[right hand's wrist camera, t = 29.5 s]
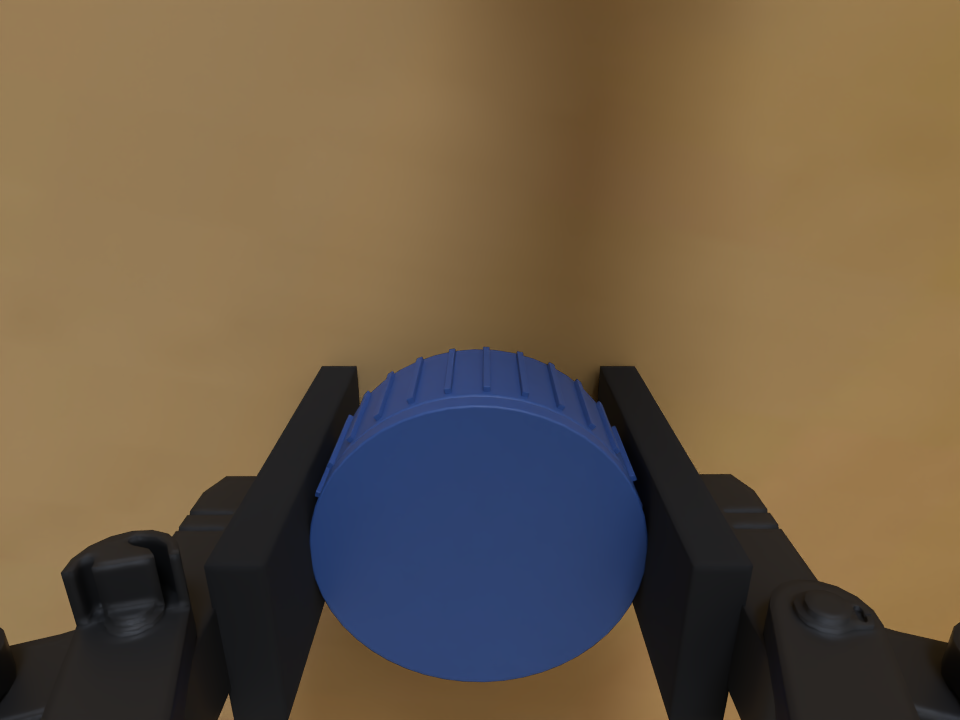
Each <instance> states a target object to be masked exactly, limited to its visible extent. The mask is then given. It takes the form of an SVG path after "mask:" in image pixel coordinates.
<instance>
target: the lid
mask: <svg viewBox="0 0 960 720" xmlns="http://www.w3.org/2000/svg"><path fill="white" fill-rule="evenodd" d="M635 480H637V478H636V476H635V473H634V471H633V468H632V466H631V463H630V461H629V458H628V456H627V454H626V451H625V449H624V446H623V444H622V441H621V439H620V436H619V434H618V431H617V429H616V427H615V426H613V427H611V426H610V423H609V421H608V418H607V416H606V413H605V410H604V408H603V405H602V404H601V402H600V401H598V402H595V401H594V400H593V399H592V398H591V397H590V396H589V394H588V393H587V392H586V391H585V390H584V389H583V387H582V384H581V382H580V381H579V380H578V379H577V380H576V381H575V382H574V381H573V380H572V379H570V378H569V377H568V376H566V375H565V374H563V373H561V372H560V371H558V370H556V369H555V366H554V364H552V363H550V362H549V363H548V365H547V364H544V363H542V362H540V361H537V360H535V359H533V358H529V357H526V356H523V352H519V351H517V354H515V353H510V352H503V351H497V350H490V349H489V347H483V350H476V349H474V350H462V351H455V349H449V352H448V353H444V354H439V355H435V356H432V357H429V358H426V359H423V357H420V358H417V360H416V362H415V363H413V364H411V365H409V366H407V367H405V368H403V369H401V370H399V371H398V372H396V373H394V372H393V371H392V372H390V373H389V374H388V376H387V378H386V380H385V381H383V382H382V383H381V384H380V385H379V386H378V387H377V388H376V389H375V390H373V391H372V392H371V393H370V392H369V391H367V392H366V393H365V394H364V397H363V399H362V402H361V404H360V406H359V408H358V409H357V411H356V413H355V414H354V416H352V415H350V414H349V416H348V417H347V420H346V422H345V424H344V427H343V429H342V431H341V434H340V436H339V438H338V441H337V443H336V445H335V448H334V450H333V452H332V455H331V457H330V459H329V462H328V464H327V467H326V469H325V472H324V474H323V476H322V479H321V481H320V483H319V486H318V488H317V490H316V493H315V497H319V498H318V500H317V502H316V505H315V508H314V512H313V516H312V520H311V526H310V550H311V559H312V566H313V572H314V576H315V580H316V582H317V585H318V587H319V589H320V592H321V594H322V596H323V598H324V600H325V601H326V603H327V605H328V607H329V608H330V610H331V612H332V613H333V614H334V615H335V617H336V618H337V619H338V620H339V622H340V623H341V624H342V625H343V626H344V627H345V628H346V629H347V630H348V631H349V632H350V633H351V634H352V635H353V636H354V637H355V638H356V639H357V640H358V641H360V642H361V643H362V644H364V645H365V646H366V647H368V648H369V649H370V650H372V651H373V652H375V653H377V654H378V655H380V656H382V657H383V658H385V659H387V660H389V661H391V662H393V663H395V664H397V665H399V666H402V667H404V668H406V669H409V670H412V671H415V672H418V673H421V674H424V675H428V676H433V677H437V678H441V679H448V680H456V681H464V682H492V681H505V680H511V679H517V678H523V677H526V676H530V675H534V674H537V673H541V672H544V671H547V670H549V669H552V668H554V667H557V666H560V665H562V664H564V663H566V662H568V661H570V660H571V659H573V658H575V657H577V656H579V655H580V654H582V653H583V652H585V651H586V650H588V649H589V648H591V647H592V646H594V645H595V644H596V643H597V642H599V641H600V640H601V639H602V638H603V637H604V636H606V635H607V634H608V633H609V632H610V631H611V630H612V628H613V627H614V626H615V625H616V624H617V623H618V622H619V621H620V620H621V618H622V617H623V615H624V614H625V612H626V611H627V610H628V608H629V607H630V605H631V603H632V601H633V599H634V597H635V595H636V593H637V591H638V589H639V587H640V584H641V581H642V578H643V575H644V571H645V563H646V555H647V543H648V533H647V527H646V521H645V515H644V512H643V509H642V506H643V505H642V502H641V500H640V497H639V495H638V493H637V490H636V488H635V485H634V483H633V481H635Z"/></svg>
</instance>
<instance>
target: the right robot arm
mask: <svg viewBox="0 0 960 720" xmlns="http://www.w3.org/2000/svg"><path fill="white" fill-rule="evenodd" d="M598 401H600V402H601V404H602V405H603V408H604V410H605V413H606V416H607V418H608V421H609V423H610V426H611V427H613V426H615V427H616V429H617V431H618V434H619V436H620V439H621V441H622V444H623V446H624V449H625V451H626V454H627V456H628V458H629V461H630V463H631V466H632V468H633V471H634V473H635V476H636V478H637V480H635V481H633V483H634V485H635V488H636V490H637V493H638V495H639V497H640V500H641V502H642V505H643V506H642V509H643V512H644V515H645V521H646V527H647V533H648V543H647V555H646V563H645V571H644V575H643V578H642V581H641V584H640V587H639V589H638V591H637V593H636V595H635V597H634V599H633V601H632V602H633V605H634V609H635V612H636V615H637V618H638V622H639V625H640V628H641V631H642V634H643V638H644V641H645V644H646V647H647V650H648V654H649V657H650V660H651V663H652V667H653V670H654V673H655V676H656V679H657V683H658V686H659V689H660V692H661V695H662V699H663V702H664V705H665V708H666V712H667V715H668V718H669V720H723V718H724V713H725V708H726V703H727V698H728V692H729V693H730V695H731V697H732V700H733V702H734V704H735V707H736V709H737V711H738V714H739V716H740V718H741V720H960V622H959V623H958V624H957V625H956V626H954V628H953V631H952V634H951V637H950V639H949V642H948V643H946V642H942V641H937V640H933V639H929V638H924V637H920V636H915V635H911V634H906V633H902V632H897V631H894V630H891V629H887V628H884V626H883V624H882V623H881V621H880V620H879V618H878V616H877V615H876V613H875V612H874V610H872V609H871V608H870V607H869V606H868V605H866V604H865V603H864V602H863V601H862V600H860V599H859V598H858V597H857V596H855V595H853V594H851V593H849V592H847V591H845V590H843V589H841V588H839V587H837V586H834V585H830V584H827V583H823V582H820V581H818V580H817V579H816V577H815V576H814V574H813V573H812V572H811V570H810V569H809V567H808V566H807V565H806V563H805V562H804V560H803V559H802V558H801V556H800V555H799V553H798V552H797V550H796V549H795V548H794V546H793V545H792V543H791V542H790V541H789V539H788V538H787V536H786V535H785V534H784V532H783V531H782V529H779V528H778V524H777V522H776V521H775V520H774V518H773V517H772V515H771V514H770V513H767V508H766V507H765V505H764V504H763V503H762V501H761V500H760V498H759V497H758V496H757V494H756V493H755V491H754V490H753V489H751V488H750V487H748V486H747V485H745V484H744V483H743V482H741V481H740V480H738V479H737V478H735V477H734V476H733V475H731V474H698V472H697V470H696V469H695V467H694V465H693V464H692V462H691V460H690V459H689V457H688V455H687V453H686V452H685V450H684V448H683V447H682V445H681V443H680V442H679V440H678V438H677V437H676V435H675V433H674V432H673V430H672V428H671V427H670V425H669V423H668V422H667V420H666V418H665V416H664V415H663V413H662V411H661V410H660V408H659V406H658V405H657V403H656V401H655V400H654V398H653V396H652V395H651V393H650V391H649V390H648V388H647V386H646V385H645V383H644V381H643V379H642V378H641V376H640V374H639V373H638V371H637V369H636V368H635V366H600V377H599V391H598ZM359 406H360V405H359V392H358V379H357V366H322V367H321V369H320V371H319V372H318V374H317V376H316V377H315V379H314V381H313V383H312V384H311V386H310V388H309V389H308V391H307V393H306V394H305V396H304V398H303V399H302V401H301V403H300V404H299V406H298V408H297V409H296V411H295V413H294V414H293V416H292V418H291V420H290V421H289V423H288V425H287V426H286V428H285V430H284V431H283V433H282V435H281V436H280V438H279V440H278V441H277V443H276V445H275V446H274V448H273V450H272V452H271V453H270V455H269V457H268V458H267V460H266V462H265V463H264V465H263V467H262V468H261V470H260V472H259V473H258V475H257V476H226V477H225V478H223V479H222V480H220V481H219V482H218V483H216V484H215V485H213V486H212V487H211V488H209V489H208V490H206V491H205V492H204V493H203V494H202V495H201V497H200V498H199V500H198V501H197V502H196V504H195V505H194V507H193V508H192V509H191V511H190V515H187V517H186V518H185V519H184V521H183V522H182V524H181V525H180V526H179V531H176V532H175V534H174V535H173V536H170V535H169V534H167V533H163V532H159V531H154V530H144V531H131V532H127V533H123V534H119V535H115V536H111V537H108V538H106V539H104V540H102V541H100V542H97V543H95V544H93V545H91V546H89V547H87V548H86V549H85V550H83V551H82V552H81V553H79V554H78V555H76V556H75V557H74V558H72V559H71V560H70V562H69V563H68V564H67V566H66V567H65V568H64V570H63V571H62V572H61V575H62V579H63V582H64V585H65V589H66V592H67V595H68V598H69V602H70V605H71V608H72V612H73V615H74V618H75V622H76V625H77V627H76V629H75V630H73V631H70V632H67V633H63V634H60V635H55V636H51V637H47V638H42V639H38V640H33V641H29V642H25V643H20V644H16V645H12V646H9V644H8V641H7V638H6V636H5V633H4V630H3V629H1V628H0V720H218V717H219V715H220V713H221V710H222V708H223V706H224V703H225V701H226V699H227V696H228V694H229V696H230V701H231V706H232V711H233V716H234V720H288V719H289V716H290V712H291V709H292V706H293V703H294V699H295V696H296V693H297V690H298V687H299V683H300V680H301V677H302V674H303V670H304V667H305V664H306V661H307V657H308V654H309V651H310V648H311V645H312V641H313V638H314V635H315V632H316V628H317V625H318V622H319V619H320V616H321V612H322V609H323V606H324V603H325V600H324V598H323V596H322V594H321V592H320V589H319V587H318V585H317V582H316V580H315V576H314V572H313V566H312V559H311V550H310V526H311V520H312V516H313V512H314V508H315V505H316V502H317V500H318V498H319V497H315V493H316V490H317V488H318V486H319V483H320V481H321V479H322V476H323V474H324V472H325V469H326V467H327V464H328V462H329V459H330V457H331V455H332V452H333V450H334V448H335V445H336V443H337V441H338V438H339V436H340V434H341V431H342V429H343V427H344V424H345V422H346V420H347V417H348V416H349V414H350V415H352V416H354V414H355V413H356V411H357V409H358V408H359Z"/></svg>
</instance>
